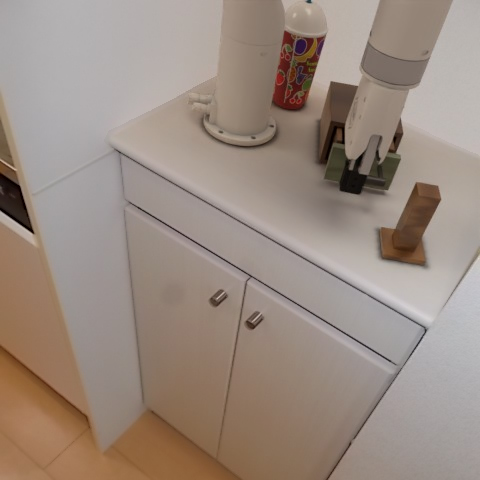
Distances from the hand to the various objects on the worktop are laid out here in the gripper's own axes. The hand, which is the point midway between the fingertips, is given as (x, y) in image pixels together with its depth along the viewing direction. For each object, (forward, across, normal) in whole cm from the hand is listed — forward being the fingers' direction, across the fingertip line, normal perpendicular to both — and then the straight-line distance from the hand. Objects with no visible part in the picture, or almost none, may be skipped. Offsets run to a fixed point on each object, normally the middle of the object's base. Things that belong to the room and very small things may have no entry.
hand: (349, 189), depth 76 cm
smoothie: (+4, -31, -10) cm, 33 cm away
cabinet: (+4, -19, +2) cm, 19 cm away
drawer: (+3, -10, +2) cm, 11 cm away
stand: (+4, +6, +9) cm, 11 cm away
